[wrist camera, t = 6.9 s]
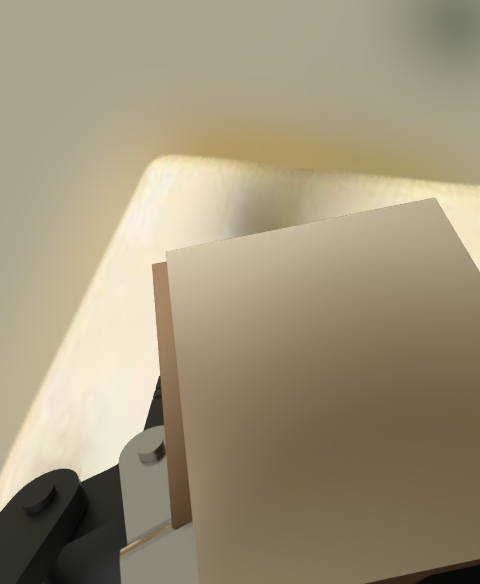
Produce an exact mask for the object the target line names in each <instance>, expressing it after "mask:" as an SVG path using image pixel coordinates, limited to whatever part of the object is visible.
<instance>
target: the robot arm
mask: <svg viewBox="0 0 480 584" xmlns="http://www.w3.org/2000/svg"><path fill="white" fill-rule="evenodd" d="M0 584H199V579H198V569H197V559H196V549H195V539H194V529H193V521H191V522H188V523H185V524H182V525H179V526H176V527H173V528H172V522H171V509H170V496H169V483H168V469H167V456H166V443H165V430H164V417H163V403H162V390H161V377H160V376H159V378H158V382H157V385H156V390H155V392H154V396H153V400H152V403H151V406H150V410H149V413H148V417H147V420H146V424H145V427H144V431H143V432H141V433H139V434H138V435H136V436H135V437H134V438H133V439H131V440H130V441H129V442H128V443H127V445H126V446H125V447H124V449H123V450H122V452H121V454H120V457H119V464H117V465H115V466H114V467H112V468H110V469H108V470H106V471H104V472H102V473H100V474H97V475H95V476H93V477H91V478H89V479H87V480H85V481H82V482H81V481H80V479H79V477H78V475H77V474H76V472H74V471H73V470H70V469H58V470H53V471H50V472H48V473H45V474H43V475H41V476H39V477H38V478H36V479H34V480H33V481H31V482H30V483H28V484H27V485H26V486H24V487H23V488H22V489H21V490H20V491H19V492H18V493H17V494H16V495H15V496H14V497H13V498H12V499H11V500H10V501H9V503H8V504H7V505H6V506H5V507H4V508H3V510H2V511H1V512H0ZM416 584H480V565H475V566H470V567H466V568H461V569H457V570H452V571H447V572H443V573H438V574H434V575H429V576H427V577H426V578H424V579H423V580H421V581H420V582H418V583H416Z"/></svg>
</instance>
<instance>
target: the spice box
mask: <svg viewBox="0 0 480 584" xmlns="http://www.w3.org/2000/svg"><path fill="white" fill-rule="evenodd" d="M166 259H167V262H162V263H157V264H152V271H153V285H154V298H155V311H156V324H157V337H158V351H159V364H160V377H161V390H162V403H163V417H164V430H165V443H166V456H167V469H168V483H169V496H170V509H171V522H172V528H173V527H176V526H179V525H182V524H185V523H188V522H191V521H193V529H194V539H195V549H196V559H197V569H198V579H199V584H416V583H418V582H420V581H421V580H423V579H424V578H426V577H427V576H429V575H434V574H438V573H443V572H447V571H452V570H457V569H461V568H466V567H470V566H475V565H480V272H479V270H478V268H477V267H476V265H475V263H474V262H473V260H472V258H471V257H470V255H469V253H468V252H467V250H466V248H465V247H464V245H463V243H462V242H461V240H460V238H459V237H458V235H457V233H456V232H455V230H454V228H453V227H452V225H451V223H450V222H449V220H448V218H447V217H446V215H445V213H444V212H443V210H442V208H441V207H440V205H439V203H438V202H437V200H436V198H430V199H425V200H420V201H415V202H410V203H405V204H400V205H395V206H390V207H385V208H380V209H375V210H370V211H365V212H360V213H355V214H350V215H345V216H341V217H336V218H331V219H326V220H321V221H316V222H311V223H306V224H301V225H296V226H291V227H286V228H281V229H276V230H271V231H266V232H261V233H256V234H251V235H246V236H241V237H236V238H231V239H226V240H221V241H216V242H211V243H206V244H201V245H196V246H191V247H186V248H182V249H177V250H172V251H167V252H166Z"/></svg>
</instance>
